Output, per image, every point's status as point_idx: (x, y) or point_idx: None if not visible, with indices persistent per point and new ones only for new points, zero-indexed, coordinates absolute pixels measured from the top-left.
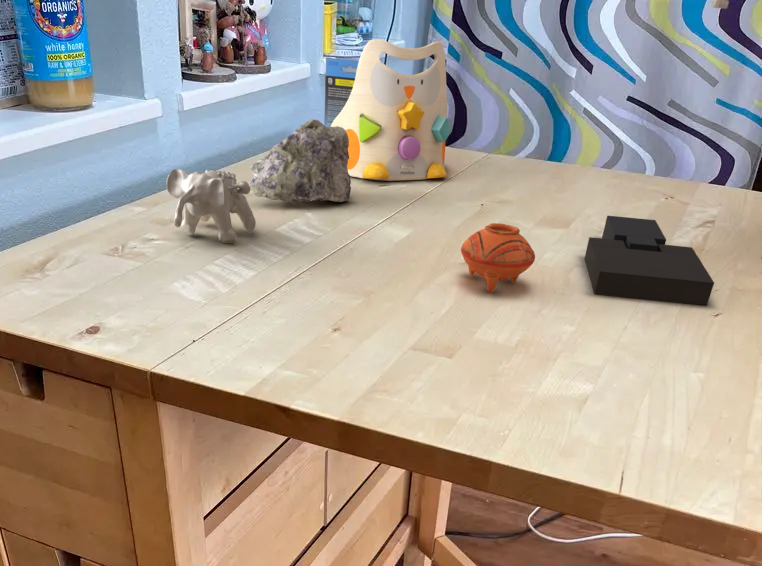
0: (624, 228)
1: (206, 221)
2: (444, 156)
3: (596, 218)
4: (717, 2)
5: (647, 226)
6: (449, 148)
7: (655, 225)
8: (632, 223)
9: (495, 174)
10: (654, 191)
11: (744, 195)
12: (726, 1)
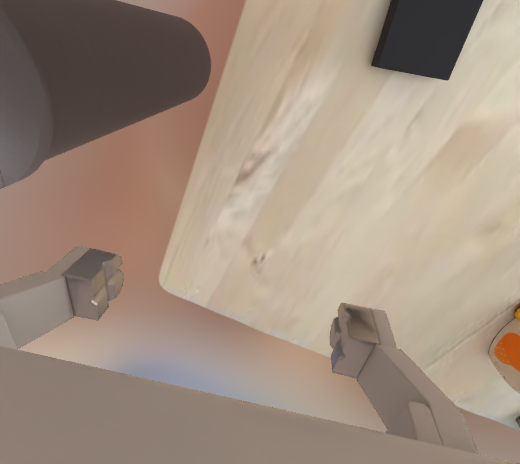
0: (460, 2)
1: None
2: (510, 344)
3: (390, 176)
4: (382, 315)
5: (410, 24)
6: None
7: (393, 32)
8: (429, 37)
9: (434, 326)
10: (266, 281)
11: (168, 275)
12: (354, 312)
